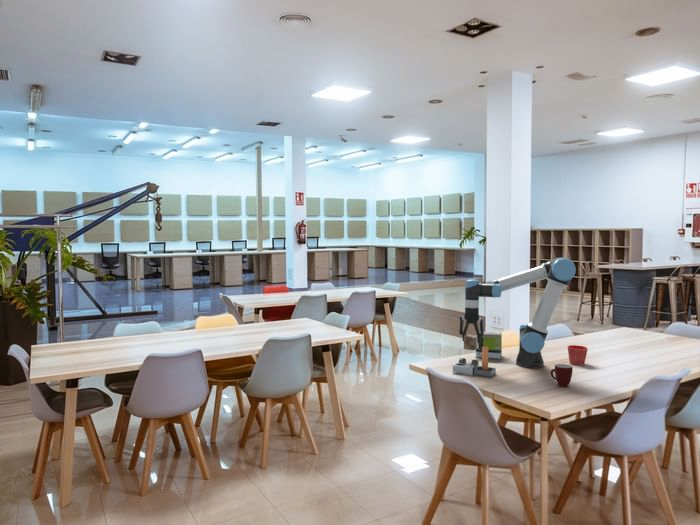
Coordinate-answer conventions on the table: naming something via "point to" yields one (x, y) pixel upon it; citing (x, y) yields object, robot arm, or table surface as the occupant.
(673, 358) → the table surface
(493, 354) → the retro computer monitor
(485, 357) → the stop pin
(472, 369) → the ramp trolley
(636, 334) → the table surface
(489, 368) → the pin tray
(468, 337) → the chock block
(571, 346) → the flower pot
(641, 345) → the table surface
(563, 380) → the mug
